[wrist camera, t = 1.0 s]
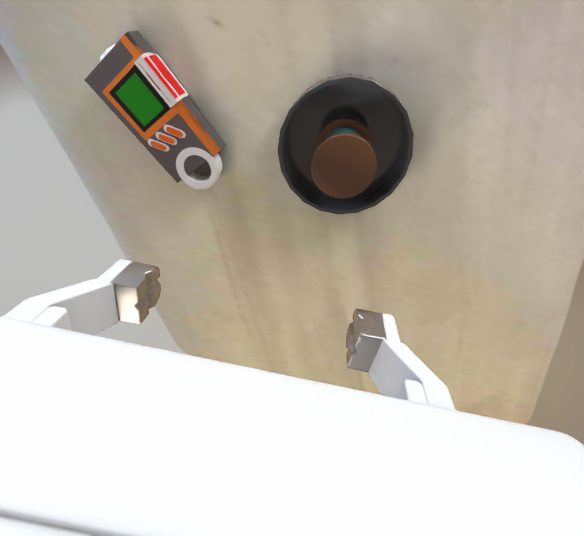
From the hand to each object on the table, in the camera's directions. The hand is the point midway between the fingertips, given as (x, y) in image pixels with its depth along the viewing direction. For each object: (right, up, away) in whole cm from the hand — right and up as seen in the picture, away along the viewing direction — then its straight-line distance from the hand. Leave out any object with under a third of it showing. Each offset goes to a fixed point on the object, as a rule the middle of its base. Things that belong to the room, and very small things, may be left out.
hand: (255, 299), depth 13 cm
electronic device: (-11, +17, +22) cm, 30 cm away
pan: (+7, +14, +21) cm, 26 cm away
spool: (+7, +14, +20) cm, 26 cm away
